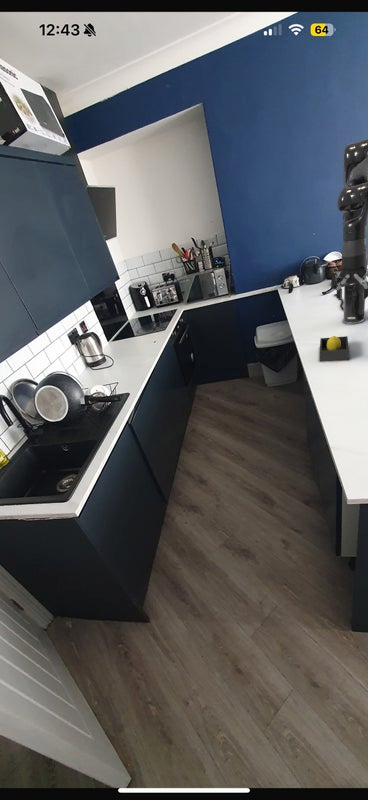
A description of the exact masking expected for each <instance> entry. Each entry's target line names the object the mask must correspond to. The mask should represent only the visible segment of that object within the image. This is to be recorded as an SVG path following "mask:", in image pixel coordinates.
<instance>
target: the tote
mask: <svg viewBox="0 0 368 800" xmlns="http://www.w3.org/2000/svg"><path fill="white" fill-rule="evenodd" d="M337 337H338V338H339V339H340V341H341V347H340V349H339V350H328V349H327V341H328V339H329V338H330V337H321V338H320V339H319V341H320V342H319V362H338V361H349V357H350V355H349V354H350V353H349V352H350V351H349V349H350V348H349V347H350V346H349V337H348V335H347V336H346V335H345V336H337Z"/></svg>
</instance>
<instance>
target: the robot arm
mask: <svg viewBox="0 0 368 800" xmlns="http://www.w3.org/2000/svg"><path fill="white" fill-rule="evenodd" d="M342 171H343V172H342V174H343V175H342V176H343V187H342V189H341V190H340V192H339V193H338V197H337V208H338V211H340V212H341V213H342V247H341V261H340V263H341V264H340V266H341V267H340V268H341V271H338V270H335V271H334V270H333V272H332V273H331V282H330V283H331V284H330V288H331V289H332V290H336V293H334V294H333V296H334V297H336V299H337V300H338V301H340V302H341V303H340V305H339V307H340V309H341V310H342V311H343V320H342V321H343V324H347V325H357V324H360V323H362V322H364V321H365V310H366V309H365V307H366V299H367V298H368V279H367V275H368V242H367V234H368V138H364V139H361V140H358V141H354V142H351V143H349V144H347V145H346V146H345V147H344V149H343V155H342ZM339 277H341V278H342V280H341V281H340V282H339V284H338V283H337V282H338V278H339ZM342 287H343V288H342ZM343 290H344V291H343Z"/></svg>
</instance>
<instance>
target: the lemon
mask: <svg viewBox="0 0 368 800" xmlns="http://www.w3.org/2000/svg"><path fill="white" fill-rule="evenodd" d="M338 337H339V336H336V335H333V336H331V337H328V338H329V339H328V341H327V349H328V350H339V349H340V347H341V341H340V339H339V338H338Z"/></svg>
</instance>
